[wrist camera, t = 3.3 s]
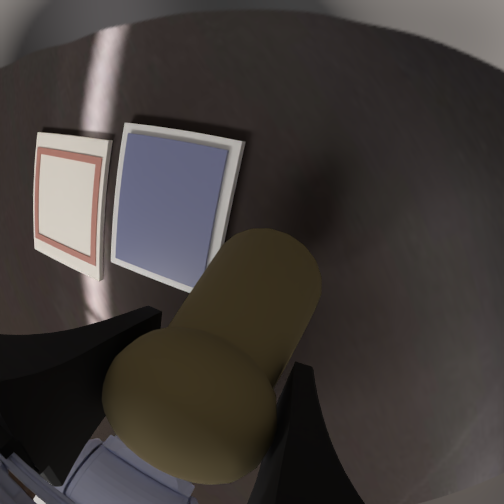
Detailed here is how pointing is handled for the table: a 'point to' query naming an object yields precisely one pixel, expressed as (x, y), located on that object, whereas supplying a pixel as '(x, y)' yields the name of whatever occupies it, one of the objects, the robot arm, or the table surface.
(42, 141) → the marked board
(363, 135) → the table surface
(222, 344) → the cork
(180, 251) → the ink pad
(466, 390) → the table surface
